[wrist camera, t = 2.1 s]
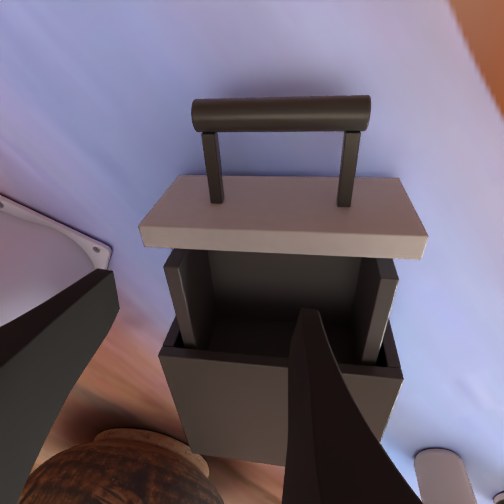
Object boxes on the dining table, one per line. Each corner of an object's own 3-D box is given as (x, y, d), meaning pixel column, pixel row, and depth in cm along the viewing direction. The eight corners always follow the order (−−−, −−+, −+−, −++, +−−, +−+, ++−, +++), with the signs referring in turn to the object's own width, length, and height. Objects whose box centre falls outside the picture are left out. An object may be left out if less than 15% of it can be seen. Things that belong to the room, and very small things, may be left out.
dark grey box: (194, 273, 25) (157, 355, 19) (380, 284, 23) (404, 379, 17) (213, 371, 32) (191, 453, 26) (356, 386, 30) (367, 478, 24)
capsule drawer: (162, 86, 17) (105, 115, 12) (421, 78, 15) (469, 110, 10) (204, 312, 26) (181, 376, 21) (366, 324, 24) (378, 397, 20)
